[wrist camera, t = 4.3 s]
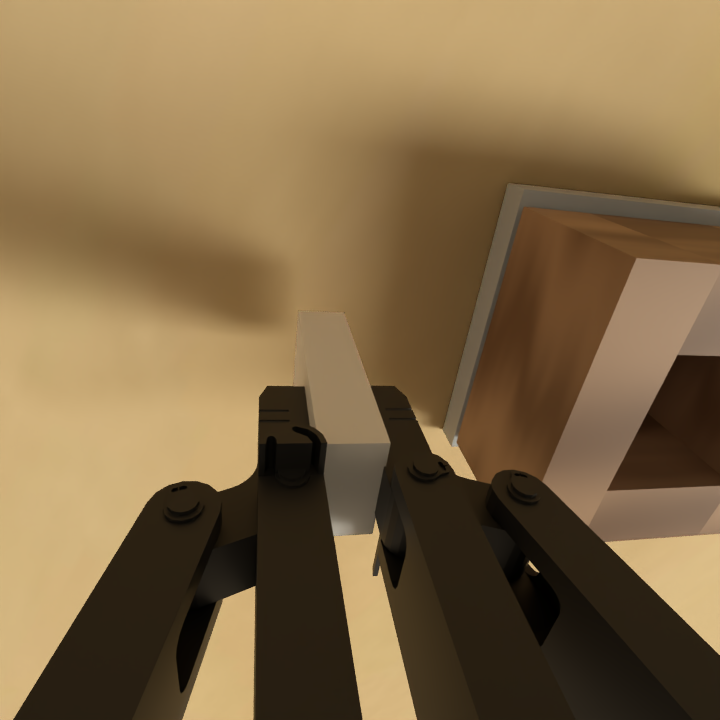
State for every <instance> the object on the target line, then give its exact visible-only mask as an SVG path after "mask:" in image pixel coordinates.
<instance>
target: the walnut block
mask: <svg viewBox="0 0 720 720" xmlns="http://www.w3.org/2000/svg"><path fill="white" fill-rule="evenodd" d="M457 444H458V446H459V448H460V450H461V452H462V453H463V455H464V457H465V459H466V461H467V463H468V465H469V466H470V468H471V470H472V472H473V474H474V476H475V477H476V479H477V481H480V482H484V483H489V484H491V481H492V479H493V477H494V476H495V474H496V473H498V472H500V471H502V470H518V471H522V472H526V473H528V474H530V475H532V476H534V477H536V478H538V479H539V480H540V481H542V482H543V483H544V484H546V485H547V486H548V487H549V488H550V489H551V490H552V491H553V492H554V493H555V494H556V495H557V496H558V497H559V498H560V499H561V500H562V501H563V502H564V503H565V504H566V505H567V506H568V507H569V508H570V509H571V510H572V511H573V512H574V513H575V514H576V515H577V516H578V517H579V518H580V519H581V520H582V521H583V522H584V523H585V524H586V525H587V526H588V527H589V528H591V529H592V530H593V531H594V532H595V533H596V534H597V535H598V536H599V537H600V538H601V539H602V540H603V541H604V542H610V541H624V540H638V539H652V538H665V537H679V536H693V535H707V534H720V226H711V225H701V224H691V223H682V222H672V221H662V220H652V219H642V218H632V217H622V216H612V215H603V214H593V213H583V212H573V211H563V210H553V209H543V208H534V207H524V208H523V211H522V215H521V218H520V222H519V225H518V229H517V232H516V236H515V239H514V243H513V246H512V250H511V253H510V257H509V260H508V264H507V267H506V271H505V274H504V278H503V281H502V285H501V288H500V292H499V295H498V298H497V302H496V305H495V309H494V312H493V316H492V319H491V323H490V326H489V330H488V333H487V337H486V340H485V344H484V347H483V351H482V354H481V358H480V361H479V365H478V368H477V372H476V375H475V379H474V382H473V386H472V389H471V393H470V396H469V400H468V403H467V407H466V410H465V414H464V417H463V421H462V424H461V428H460V431H459V435H458V438H457Z"/></svg>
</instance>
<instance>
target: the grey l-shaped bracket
mask: <svg viewBox="0 0 720 720" xmlns="http://www.w3.org/2000/svg"><path fill="white" fill-rule="evenodd" d="M524 207H534V208H543V209H553V210H563V211H573V212H583V213H593V214H603V215H612V216H622V217H632V218H642V219H652V220H662V221H672V222H682V223H691V224H701V225H711V226H720V207H718V206H709V205H700V204H692V203H683V202H674V201H665V200H656V199H647V198H638V197H629V196H620V195H612V194H603V193H594V192H585V191H576V190H567V189H558V188H549V187H540V186H532V185H523V184H514V183H508V184H507V188H506V192H505V196H504V199H503V203H502V207H501V211H500V215H499V218H498V222H497V226H496V230H495V234H494V237H493V241H492V245H491V249H490V253H489V256H488V260H487V264H486V268H485V271H484V275H483V279H482V283H481V287H480V290H479V294H478V298H477V302H476V306H475V309H474V313H473V317H472V321H471V325H470V328H469V332H468V336H467V340H466V343H465V347H464V351H463V355H462V359H461V362H460V366H459V370H458V374H457V378H456V381H455V385H454V389H453V393H452V397H451V400H450V404H449V408H448V412H447V415H446V419H445V423H444V427H443V431H444V433H445V435H446V437H447V439H448V441H449V443H450V445H451V447H455V446H458V444H457V438H458V435H459V431H460V428H461V424H462V421H463V417H464V414H465V410H466V407H467V403H468V400H469V396H470V393H471V389H472V386H473V382H474V379H475V375H476V372H477V368H478V365H479V361H480V358H481V354H482V351H483V347H484V344H485V340H486V337H487V333H488V330H489V326H490V323H491V319H492V316H493V312H494V309H495V305H496V302H497V298H498V295H499V292H500V288H501V285H502V281H503V278H504V274H505V271H506V267H507V264H508V260H509V257H510V253H511V250H512V246H513V243H514V239H515V236H516V232H517V229H518V225H519V222H520V218H521V215H522V211H523V208H524Z"/></svg>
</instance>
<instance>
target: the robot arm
mask: <svg viewBox="0 0 720 720" xmlns="http://www.w3.org/2000/svg"><path fill="white" fill-rule="evenodd" d="M293 384H294V386H267V387H266V388H265V390H264V391H263V393H262V394H261V395H260V397H259V425H258V464H257V468H256V470H255V472H254V473H253V475H252V476H251V477H250V478H249V479H247V480H246V481H245V482H243V483H241V484H240V485H238V486H235V487H232V488H230V489H226V490H223V491H219V492H217V491H216V490H215V489H213V488H212V487H211V486H210V485H208V484H204V483H201V482H198V481H183V482H179V483H175V484H171V485H168V486H167V487H165V488H163V489H161V490H160V491H158V492H156V493H155V494H154V495H153V497H152V498H151V499H150V500H149V501H148V502H147V504H146V505H145V507H144V508H143V510H142V512H141V513H140V515H139V517H138V518H137V520H136V521H135V523H134V525H133V526H132V528H131V530H130V531H129V533H128V534H127V536H126V538H125V539H124V541H123V542H122V544H121V546H120V547H119V549H118V551H117V552H116V554H115V555H114V557H113V559H112V560H111V562H110V564H109V565H108V567H107V568H106V570H105V572H104V573H103V575H102V577H101V578H100V580H99V581H98V583H97V585H96V586H95V588H94V590H93V591H92V593H91V594H90V596H89V598H88V599H87V601H86V602H85V604H84V606H83V607H82V609H81V611H80V612H79V614H78V615H77V617H76V619H75V620H74V622H73V624H72V625H71V627H70V628H69V630H68V632H67V633H66V635H65V637H64V638H63V640H62V641H61V643H60V645H59V646H58V648H57V650H56V651H55V653H54V654H53V656H52V658H51V659H50V661H49V663H48V664H47V666H46V667H45V669H44V671H43V672H42V674H41V675H40V677H39V679H38V680H37V682H36V684H35V685H34V687H33V688H32V690H31V692H30V693H29V695H28V697H27V698H26V700H25V701H24V703H23V705H22V706H21V708H20V710H19V711H18V713H17V714H16V716H15V718H14V719H13V720H182V719H183V716H184V713H185V710H186V707H187V704H188V701H189V698H190V695H191V692H192V689H193V686H194V683H195V680H196V678H197V675H198V672H199V669H200V666H201V663H202V660H203V657H204V654H205V651H206V648H207V645H208V642H209V639H210V636H211V634H212V631H213V628H214V625H215V622H216V619H217V616H218V613H219V610H220V607H221V604H222V600H223V599H224V598H226V597H229V596H231V595H234V594H236V593H239V592H241V591H244V590H246V589H249V588H251V587H254V586H255V650H254V719H253V720H362V713H361V707H360V701H359V694H358V688H357V682H356V675H355V669H354V663H353V656H352V650H351V644H350V637H349V631H348V625H347V618H346V612H345V606H344V599H343V593H342V587H341V580H340V574H339V568H338V561H337V555H336V549H335V542H334V536H343V535H359V534H372V533H373V528H374V523H375V518H376V521H377V524H378V528H379V532H380V535H379V540H378V545H377V549H376V554H375V559H374V563H373V576H378V571H379V567H381V571H382V575H383V579H384V583H385V587H386V592H387V596H388V600H389V604H390V608H391V612H392V617H393V621H394V625H395V629H396V633H397V637H398V642H399V646H400V650H401V654H402V658H403V663H404V667H405V671H406V675H407V679H408V683H409V688H410V692H411V696H412V700H413V704H414V708H415V713H416V717H417V720H720V655H719V654H718V653H717V652H716V651H715V650H714V649H713V648H712V647H711V646H710V645H709V644H708V643H707V642H706V641H704V640H703V639H702V638H701V637H700V636H699V635H698V634H697V633H696V632H695V631H694V630H693V629H692V628H691V627H690V626H689V625H688V624H687V623H686V622H685V621H684V620H683V619H682V618H681V617H680V616H679V615H678V614H677V613H676V612H675V611H674V610H673V609H672V608H671V607H670V606H669V605H668V604H667V603H666V602H665V601H664V600H663V599H662V598H661V597H660V596H659V595H658V594H657V593H656V592H655V591H654V590H653V589H652V588H651V587H650V586H649V585H648V584H646V583H645V582H644V581H643V580H642V579H641V578H640V577H639V576H638V575H637V574H636V573H635V572H634V571H633V570H632V569H631V568H630V567H629V566H628V565H627V564H626V563H625V562H624V561H623V560H622V559H621V558H620V557H619V556H618V555H617V554H616V553H615V552H614V551H613V550H612V549H611V548H610V547H609V546H608V545H607V544H606V543H605V542H604V541H603V540H602V539H601V538H600V537H599V536H598V535H597V534H596V533H595V532H594V531H593V530H592V529H591V528H589V527H588V526H587V525H586V524H585V523H584V522H583V521H582V520H581V519H580V518H579V517H578V516H577V515H576V514H575V513H574V512H573V511H572V510H571V509H570V508H569V507H568V506H567V505H566V504H565V503H564V502H563V501H562V500H561V499H560V498H559V497H558V496H557V495H556V494H555V493H554V492H553V491H552V490H551V489H550V488H549V487H548V486H547V485H546V484H544V483H543V482H542V481H540V480H539V479H538V478H536V477H534V476H532V475H530V474H528V473H526V472H522V471H518V470H502V471H500V472H498V473H496V474H495V476H494V477H493V479H492V481H491V484H489V483H484V482H480V481H475V480H470V479H466V478H463V477H460V476H457V475H456V474H455V472H454V470H453V469H452V468H451V466H450V465H449V464H448V462H447V461H445V460H444V459H442V458H441V457H439V456H438V455H435V454H432V452H431V450H430V447H429V445H428V443H427V441H426V439H425V437H424V434H423V432H422V430H421V428H420V426H419V424H418V421H417V420H416V417H415V415H414V413H413V411H412V410H411V406H410V404H409V402H408V400H407V397H406V396H405V395H404V394H403V393H402V392H400V391H399V390H398V389H397V388H396V387H395V386H370V383H369V381H368V378H367V375H366V372H365V369H364V367H363V364H362V361H361V358H360V355H359V353H358V350H357V347H356V344H355V341H354V339H353V336H352V333H351V330H350V327H349V324H348V322H347V319H346V316H345V313H343V312H321V311H299V310H298V321H297V336H296V350H295V365H294V380H293ZM529 561H531V563H532V564H533V565H534V566H535V567H536V569H537V570H538V571H539V573H538V572H536V571H534V570H533V569H532V568H531V567H530V565H529V564H528V563H529Z"/></svg>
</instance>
